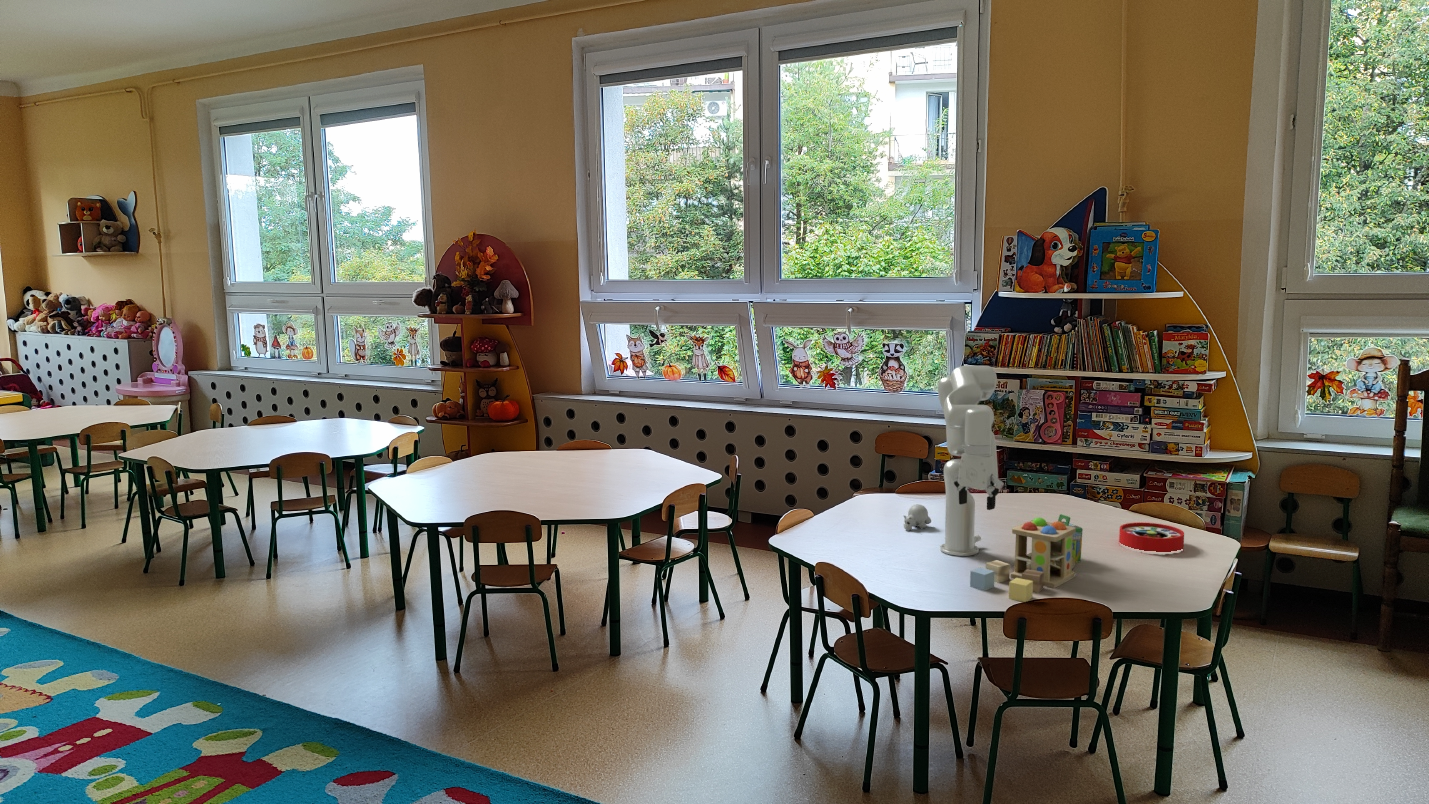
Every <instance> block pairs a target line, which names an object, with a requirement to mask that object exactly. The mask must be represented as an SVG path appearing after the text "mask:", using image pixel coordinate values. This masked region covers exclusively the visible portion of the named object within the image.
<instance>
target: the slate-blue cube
mask: <svg viewBox="0 0 1429 804" xmlns="http://www.w3.org/2000/svg"><path fill="white" fill-rule="evenodd" d="M994 573H995V571H992V570H988V569H986V568H984V567H977V568H975V569H973V570H970V576H969V579H970V580H969V581H970V582H969V583H970V584H969V587H970V588H974V589H977V590H980V591H983V592H985V591H988V590H991V589H993V588H995V582H994Z"/></svg>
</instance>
